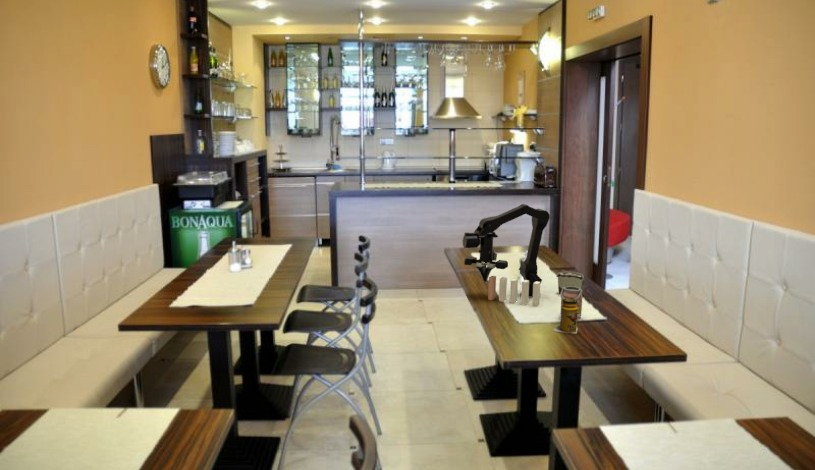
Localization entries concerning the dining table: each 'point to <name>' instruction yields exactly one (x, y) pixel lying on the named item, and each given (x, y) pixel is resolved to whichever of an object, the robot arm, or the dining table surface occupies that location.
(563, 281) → the food container
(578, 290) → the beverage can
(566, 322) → the condiment
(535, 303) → the domino
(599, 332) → the dining table surface
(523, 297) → the domino
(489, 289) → the domino
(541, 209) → the robot arm
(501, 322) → the dining table surface
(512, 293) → the domino
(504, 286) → the domino
